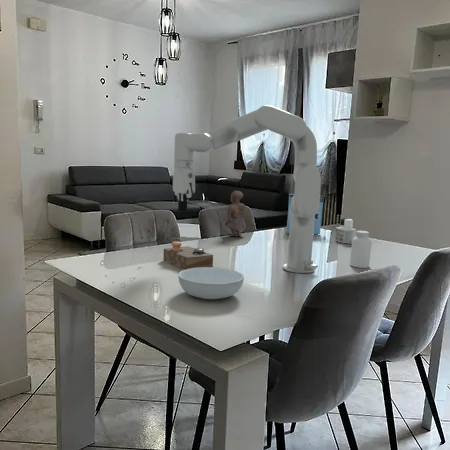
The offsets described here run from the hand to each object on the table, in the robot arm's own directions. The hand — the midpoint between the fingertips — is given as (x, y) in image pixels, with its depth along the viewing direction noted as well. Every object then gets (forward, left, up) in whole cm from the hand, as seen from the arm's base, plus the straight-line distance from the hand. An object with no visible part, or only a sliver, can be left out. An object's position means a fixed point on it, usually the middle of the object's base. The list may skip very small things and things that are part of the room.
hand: (182, 210), depth 186 cm
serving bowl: (-41, +15, -22) cm, 49 cm away
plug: (-7, -4, -20) cm, 21 cm away
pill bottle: (-39, -65, -21) cm, 79 cm away
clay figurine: (+38, -59, -21) cm, 74 cm away
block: (-3, -1, -21) cm, 21 cm away
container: (0, -105, -21) cm, 108 cm away
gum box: (+29, -103, -22) cm, 109 cm away
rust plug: (+1, +2, -18) cm, 18 cm away
